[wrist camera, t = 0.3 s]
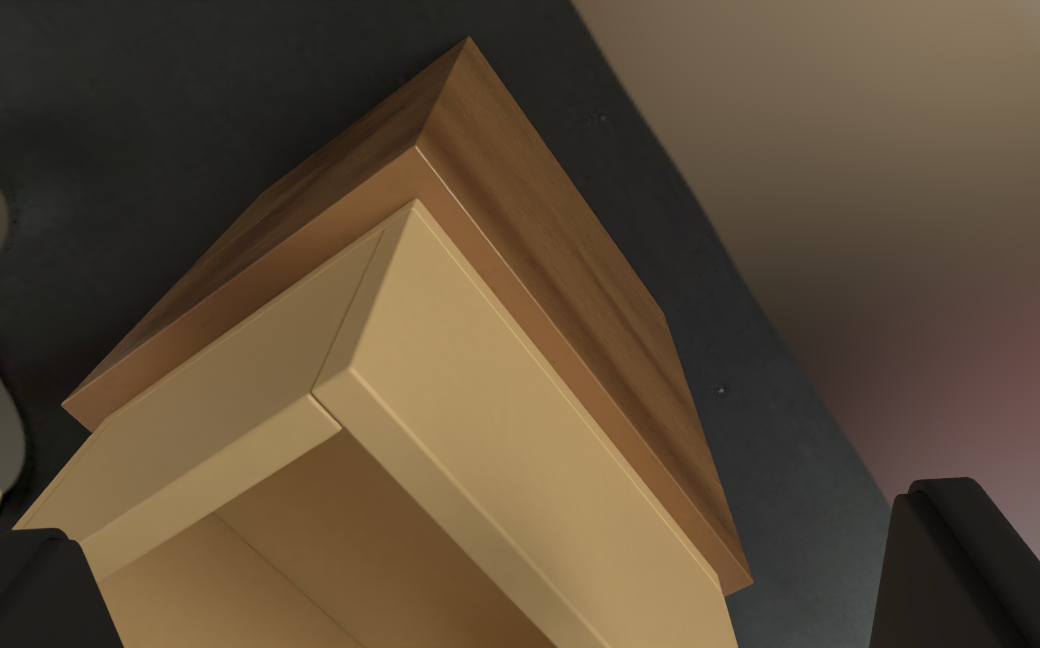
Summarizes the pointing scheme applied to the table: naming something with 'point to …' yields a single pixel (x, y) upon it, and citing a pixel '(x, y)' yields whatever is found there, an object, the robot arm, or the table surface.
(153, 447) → the open box
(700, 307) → the table surface
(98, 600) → the robot arm
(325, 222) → the stand
